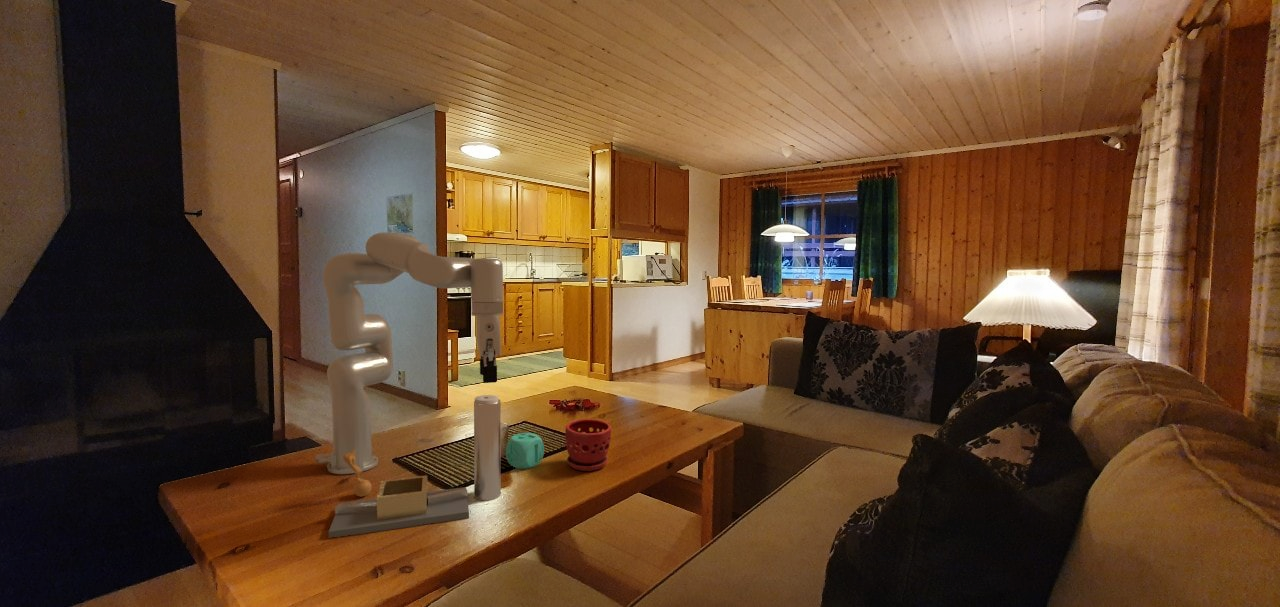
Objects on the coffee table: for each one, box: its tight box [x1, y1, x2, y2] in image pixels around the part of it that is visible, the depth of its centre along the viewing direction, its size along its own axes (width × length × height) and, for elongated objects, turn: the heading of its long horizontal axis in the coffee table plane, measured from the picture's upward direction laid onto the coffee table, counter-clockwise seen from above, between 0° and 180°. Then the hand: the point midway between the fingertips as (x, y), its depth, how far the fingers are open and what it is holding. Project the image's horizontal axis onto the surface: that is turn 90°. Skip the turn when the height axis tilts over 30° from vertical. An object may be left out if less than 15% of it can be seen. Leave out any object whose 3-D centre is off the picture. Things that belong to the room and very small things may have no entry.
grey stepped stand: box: [334, 475, 468, 521], centre depth 122 cm, size 28×10×5 cm, turn 111°
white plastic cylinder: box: [473, 394, 502, 502], centre depth 132 cm, size 6×6×25 cm
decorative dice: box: [505, 432, 545, 470], centre depth 153 cm, size 8×8×8 cm
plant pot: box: [564, 418, 612, 472], centre depth 153 cm, size 13×13×12 cm
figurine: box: [343, 450, 373, 498], centre depth 130 cm, size 8×6×12 cm
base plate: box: [328, 486, 470, 539], centre depth 122 cm, size 28×14×2 cm, turn 111°
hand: (488, 378), depth 130 cm, fingers open, 9 cm apart
